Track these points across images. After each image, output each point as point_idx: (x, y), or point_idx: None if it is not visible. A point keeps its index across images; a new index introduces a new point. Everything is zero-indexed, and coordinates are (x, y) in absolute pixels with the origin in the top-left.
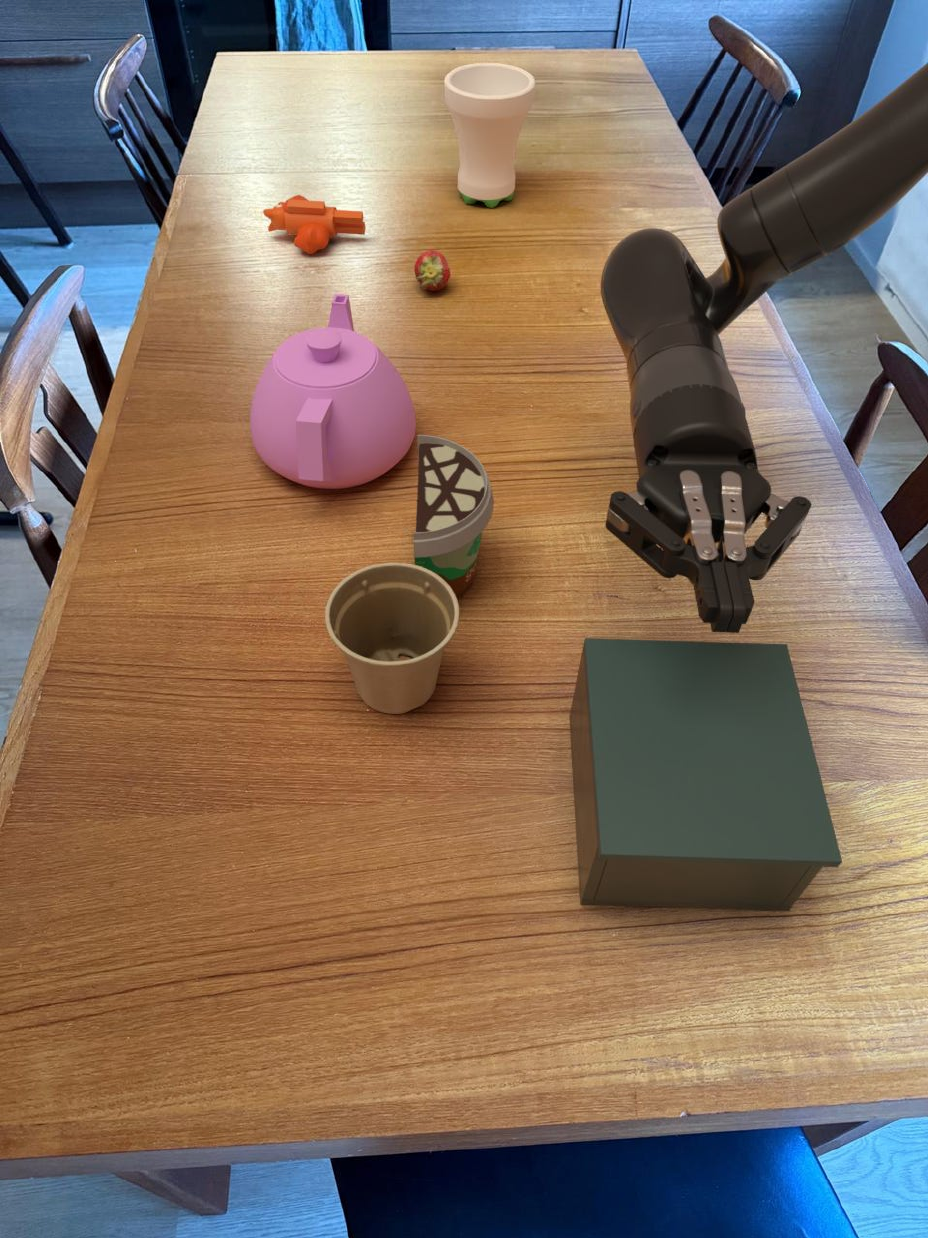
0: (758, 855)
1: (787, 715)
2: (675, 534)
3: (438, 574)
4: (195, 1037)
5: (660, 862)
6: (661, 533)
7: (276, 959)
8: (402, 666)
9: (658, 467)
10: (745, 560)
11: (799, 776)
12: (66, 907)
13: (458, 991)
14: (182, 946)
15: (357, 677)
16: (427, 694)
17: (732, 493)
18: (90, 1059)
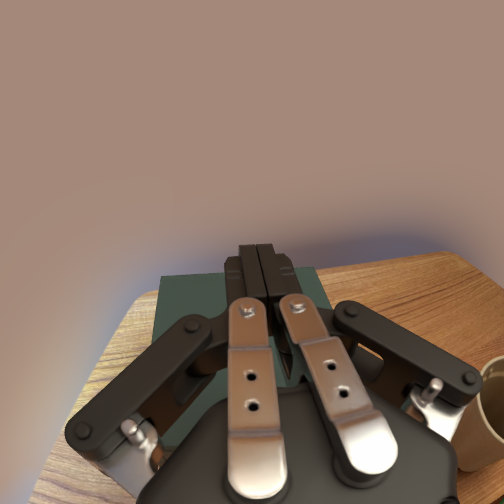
0: (214, 274)
1: None
2: (356, 327)
3: (500, 501)
4: (432, 275)
5: None
6: (379, 326)
7: (427, 298)
8: (486, 371)
9: (436, 496)
10: (227, 320)
11: (171, 319)
12: (498, 297)
13: (351, 300)
14: (459, 295)
15: (496, 395)
16: None
17: (252, 429)
18: (453, 266)
